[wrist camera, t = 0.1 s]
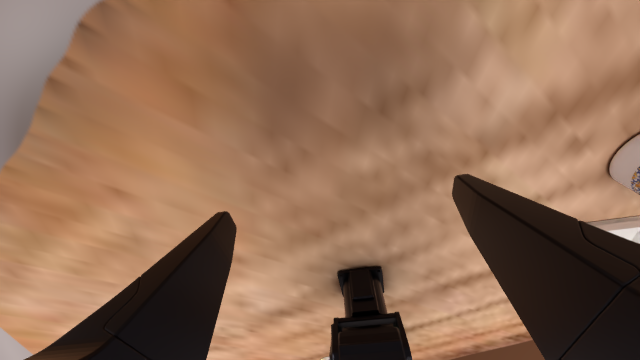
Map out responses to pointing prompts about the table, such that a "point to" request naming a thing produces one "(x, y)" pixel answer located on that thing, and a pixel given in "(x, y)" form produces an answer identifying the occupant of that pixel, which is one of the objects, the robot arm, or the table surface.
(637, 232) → the tray
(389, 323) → the robot arm
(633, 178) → the bath foam
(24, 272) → the table surface
